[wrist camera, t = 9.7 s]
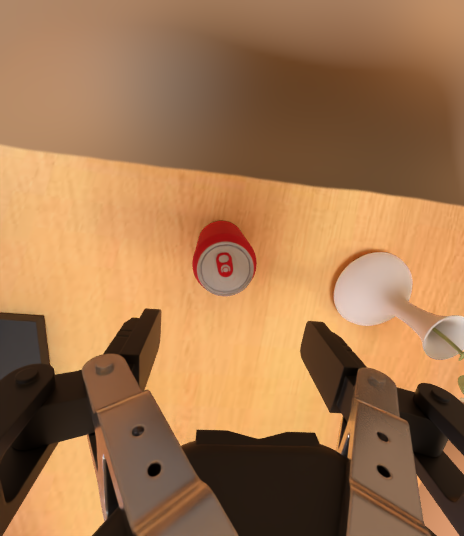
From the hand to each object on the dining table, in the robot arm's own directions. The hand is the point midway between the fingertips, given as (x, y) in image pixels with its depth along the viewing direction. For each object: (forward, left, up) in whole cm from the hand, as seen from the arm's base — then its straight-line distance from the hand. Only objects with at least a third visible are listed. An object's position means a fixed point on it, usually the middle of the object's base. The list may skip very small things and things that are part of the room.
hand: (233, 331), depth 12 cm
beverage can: (0, 0, -22) cm, 22 cm away
